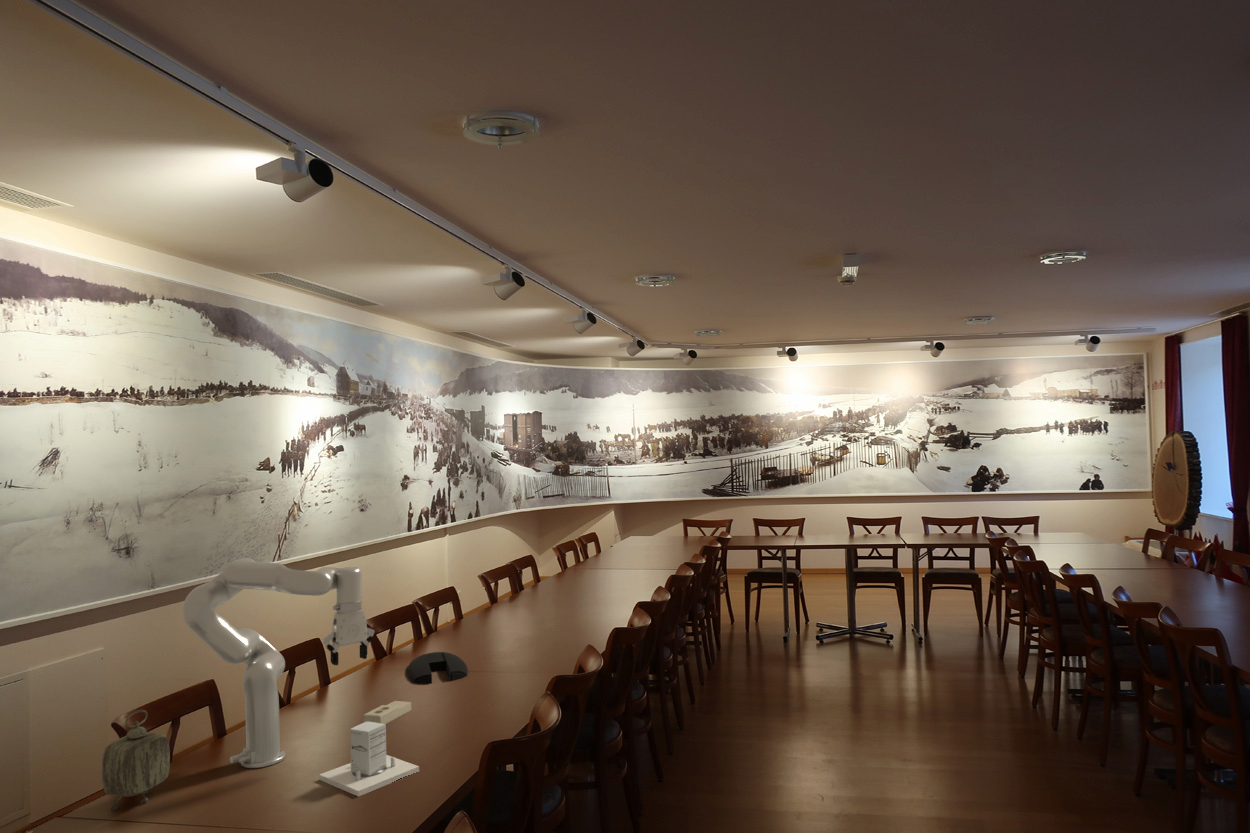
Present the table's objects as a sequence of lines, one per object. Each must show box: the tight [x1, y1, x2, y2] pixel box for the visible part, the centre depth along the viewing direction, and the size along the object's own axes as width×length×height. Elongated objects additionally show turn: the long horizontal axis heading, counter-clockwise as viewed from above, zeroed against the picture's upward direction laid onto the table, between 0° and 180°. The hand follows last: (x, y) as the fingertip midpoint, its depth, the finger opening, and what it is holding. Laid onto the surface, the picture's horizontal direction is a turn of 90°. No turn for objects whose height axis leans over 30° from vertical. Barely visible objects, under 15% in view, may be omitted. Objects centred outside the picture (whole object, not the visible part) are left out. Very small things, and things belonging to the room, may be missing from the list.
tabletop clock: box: [101, 709, 171, 811], centre depth 220 cm, size 14×9×25 cm, turn 163°
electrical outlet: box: [362, 700, 412, 724], centre depth 283 cm, size 7×4×18 cm
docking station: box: [406, 651, 469, 684], centre depth 343 cm, size 25×41×5 cm, turn 19°
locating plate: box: [318, 754, 420, 797], centre depth 232 cm, size 20×20×4 cm
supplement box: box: [349, 721, 387, 776], centre depth 232 cm, size 7×7×13 cm
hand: (349, 661), depth 252 cm, fingers open, 9 cm apart
